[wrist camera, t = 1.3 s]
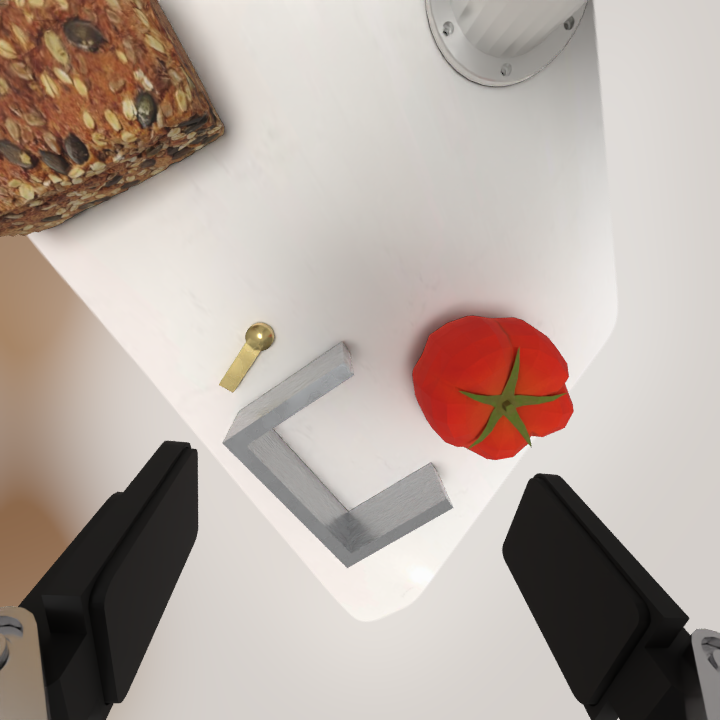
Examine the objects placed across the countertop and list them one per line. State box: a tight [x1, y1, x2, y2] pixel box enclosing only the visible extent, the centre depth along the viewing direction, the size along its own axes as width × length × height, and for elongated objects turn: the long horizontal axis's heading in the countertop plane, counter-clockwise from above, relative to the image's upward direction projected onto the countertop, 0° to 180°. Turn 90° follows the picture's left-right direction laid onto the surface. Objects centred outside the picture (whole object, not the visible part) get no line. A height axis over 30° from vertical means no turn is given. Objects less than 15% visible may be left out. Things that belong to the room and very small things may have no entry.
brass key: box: [219, 323, 274, 392], centre depth 35 cm, size 8×3×1 cm, turn 144°
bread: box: [0, 0, 224, 237], centre depth 23 cm, size 19×11×10 cm, turn 114°
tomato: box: [412, 316, 573, 460], centre depth 32 cm, size 14×13×10 cm
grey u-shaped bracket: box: [223, 342, 453, 568], centre depth 37 cm, size 14×20×6 cm
